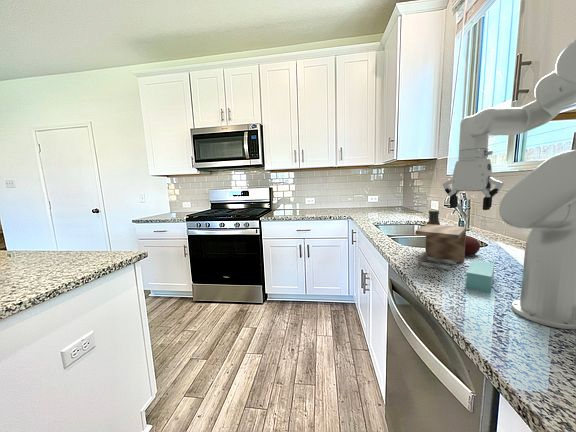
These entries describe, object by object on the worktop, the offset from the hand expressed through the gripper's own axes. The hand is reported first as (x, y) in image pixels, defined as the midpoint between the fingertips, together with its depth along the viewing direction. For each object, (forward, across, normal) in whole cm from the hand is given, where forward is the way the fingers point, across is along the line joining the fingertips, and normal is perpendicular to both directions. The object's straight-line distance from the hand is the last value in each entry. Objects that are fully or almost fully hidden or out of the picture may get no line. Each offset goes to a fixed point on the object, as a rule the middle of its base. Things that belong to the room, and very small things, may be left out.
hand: (469, 208), depth 84 cm
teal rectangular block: (+24, -4, -1) cm, 24 cm away
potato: (+24, +15, -31) cm, 42 cm away
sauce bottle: (+24, +24, -21) cm, 40 cm away
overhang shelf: (+24, +13, -7) cm, 28 cm away
